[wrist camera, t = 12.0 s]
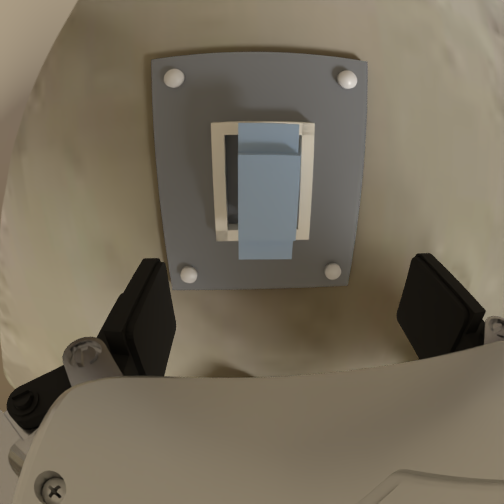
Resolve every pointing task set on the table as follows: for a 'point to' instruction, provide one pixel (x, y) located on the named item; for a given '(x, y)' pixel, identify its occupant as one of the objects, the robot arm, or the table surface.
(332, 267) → the plate
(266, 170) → the block
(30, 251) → the table surface
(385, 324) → the table surface
